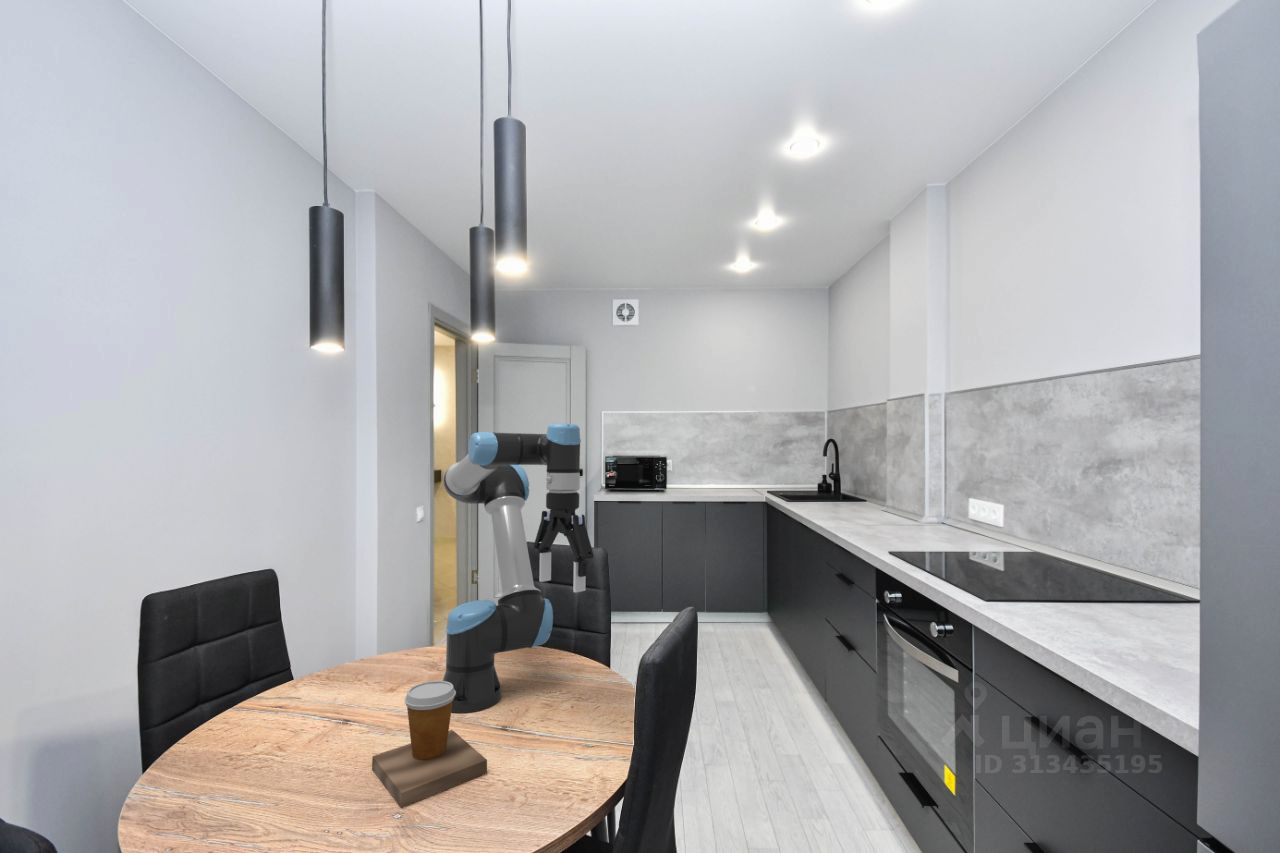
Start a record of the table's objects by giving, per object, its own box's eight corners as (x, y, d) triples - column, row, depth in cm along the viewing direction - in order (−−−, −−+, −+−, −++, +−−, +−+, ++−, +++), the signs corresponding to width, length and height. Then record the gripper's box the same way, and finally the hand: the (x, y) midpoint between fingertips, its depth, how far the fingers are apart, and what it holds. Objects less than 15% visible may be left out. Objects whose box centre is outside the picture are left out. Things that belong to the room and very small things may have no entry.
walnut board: (372, 769, 108) (372, 756, 108) (451, 741, 119) (452, 729, 119) (401, 807, 96) (401, 793, 96) (486, 773, 107) (487, 759, 107)
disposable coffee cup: (464, 744, 112) (465, 683, 113) (430, 768, 104) (432, 702, 104) (427, 736, 116) (429, 677, 117) (391, 758, 107) (393, 694, 108)
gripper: (520, 489, 134) (518, 579, 132) (582, 495, 115) (580, 599, 114) (546, 488, 139) (545, 574, 138) (610, 493, 120) (609, 593, 119)
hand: (561, 586), depth 126 cm, fingers open, 13 cm apart
